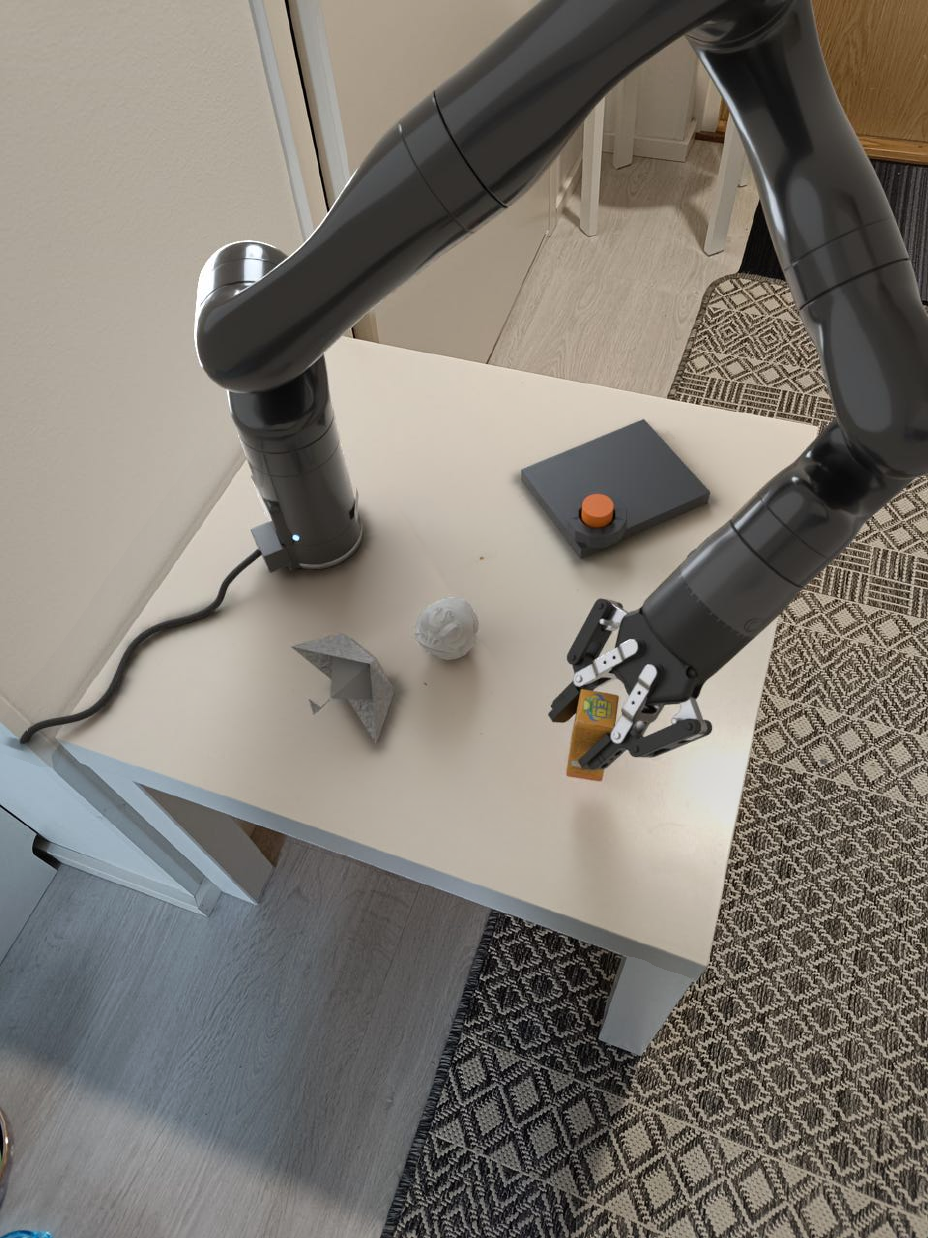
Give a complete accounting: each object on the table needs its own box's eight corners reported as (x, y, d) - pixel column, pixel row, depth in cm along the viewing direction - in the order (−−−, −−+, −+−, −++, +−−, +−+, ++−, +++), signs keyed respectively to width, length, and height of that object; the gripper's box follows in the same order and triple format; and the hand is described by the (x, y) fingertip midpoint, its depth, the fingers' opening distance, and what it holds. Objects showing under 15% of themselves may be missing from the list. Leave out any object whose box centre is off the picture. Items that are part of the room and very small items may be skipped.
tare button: (591, 532, 92) (592, 521, 91) (575, 512, 94) (576, 500, 93) (618, 521, 93) (619, 509, 92) (602, 500, 95) (603, 489, 93)
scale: (585, 566, 94) (586, 545, 91) (520, 480, 101) (520, 457, 98) (713, 509, 97) (719, 486, 94) (642, 429, 105) (645, 406, 102)
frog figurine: (405, 665, 88) (396, 626, 83) (439, 612, 92) (433, 571, 86) (460, 689, 87) (455, 650, 81) (492, 634, 90) (490, 593, 84)
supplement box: (605, 784, 77) (614, 730, 69) (565, 777, 78) (570, 723, 70) (609, 749, 79) (619, 693, 71) (570, 743, 80) (575, 686, 71)
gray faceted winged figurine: (432, 691, 85) (374, 753, 79) (400, 712, 90) (343, 772, 84) (347, 596, 84) (282, 651, 78) (319, 623, 89) (255, 677, 83)
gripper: (804, 674, 65) (642, 814, 72) (690, 539, 72) (554, 678, 80) (759, 666, 59) (589, 818, 67) (640, 521, 67) (499, 672, 74)
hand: (571, 741), depth 73 cm, fingers closed on supplement box, 4 cm apart
